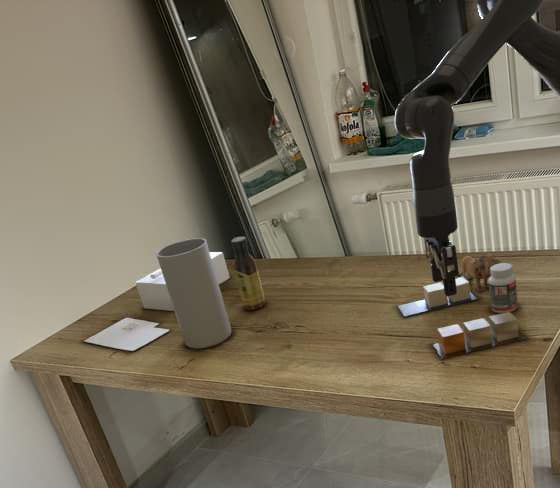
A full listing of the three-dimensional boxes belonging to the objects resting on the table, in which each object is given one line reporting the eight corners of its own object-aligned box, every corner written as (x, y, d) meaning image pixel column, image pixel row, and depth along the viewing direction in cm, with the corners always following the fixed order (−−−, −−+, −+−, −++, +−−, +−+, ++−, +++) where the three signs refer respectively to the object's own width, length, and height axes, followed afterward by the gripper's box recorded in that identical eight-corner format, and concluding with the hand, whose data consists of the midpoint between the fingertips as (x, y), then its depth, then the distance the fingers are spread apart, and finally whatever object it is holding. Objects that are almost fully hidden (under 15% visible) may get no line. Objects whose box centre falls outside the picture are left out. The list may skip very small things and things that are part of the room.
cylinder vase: (229, 323, 183) (204, 234, 171) (234, 341, 171) (207, 247, 160) (184, 336, 182) (156, 247, 171) (186, 354, 171) (156, 261, 160)
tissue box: (229, 277, 217) (220, 245, 212) (175, 311, 201) (164, 276, 196) (198, 276, 226) (189, 245, 221) (143, 308, 210) (132, 275, 205)
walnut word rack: (513, 326, 144) (512, 308, 143) (526, 339, 138) (525, 320, 136) (432, 345, 145) (430, 327, 143) (442, 359, 139) (439, 340, 137)
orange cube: (459, 340, 144) (457, 323, 142) (466, 349, 140) (464, 332, 138) (439, 345, 144) (436, 328, 142) (445, 354, 140) (442, 337, 138)
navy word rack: (467, 290, 166) (466, 273, 165) (477, 300, 160) (475, 283, 158) (397, 306, 167) (395, 290, 165) (404, 317, 161) (401, 300, 159)
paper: (80, 343, 195) (78, 340, 195) (124, 317, 206) (123, 314, 205) (135, 352, 179) (134, 349, 179) (180, 324, 190) (179, 321, 190)
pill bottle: (517, 313, 150) (513, 270, 145) (490, 314, 152) (486, 273, 148) (518, 302, 154) (515, 261, 150) (492, 303, 157) (488, 263, 152)
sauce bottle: (241, 306, 192) (223, 239, 183) (262, 299, 193) (245, 232, 184) (248, 313, 186) (229, 244, 177) (269, 306, 187) (251, 237, 178)
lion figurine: (505, 287, 163) (503, 252, 159) (488, 295, 161) (485, 259, 157) (465, 275, 175) (461, 242, 171) (448, 282, 173) (444, 249, 169)
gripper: (466, 212, 121) (474, 295, 128) (443, 195, 134) (452, 272, 141) (425, 222, 122) (435, 304, 129) (406, 204, 134) (417, 280, 141)
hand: (444, 287), depth 135 cm, fingers open, 8 cm apart
